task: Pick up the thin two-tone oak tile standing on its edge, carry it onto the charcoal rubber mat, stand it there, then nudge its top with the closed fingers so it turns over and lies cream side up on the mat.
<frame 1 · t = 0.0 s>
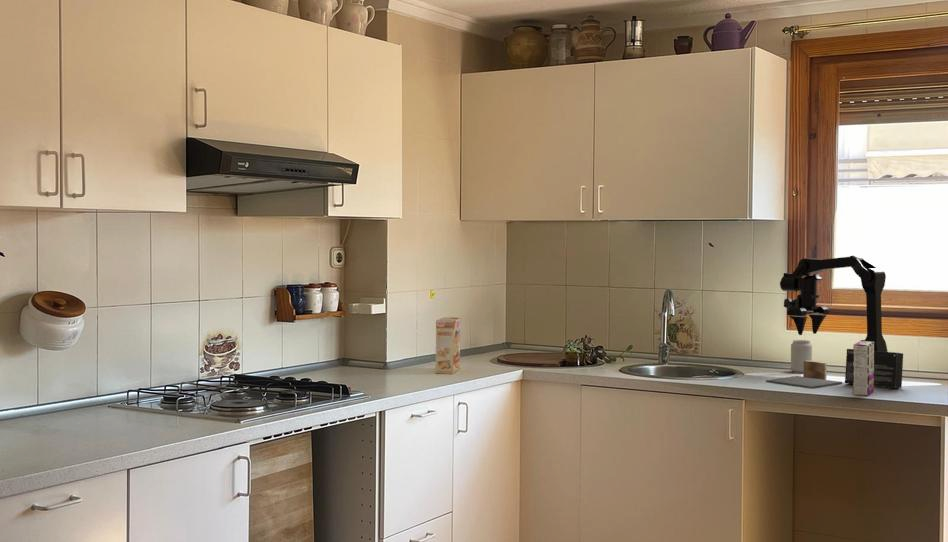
hand: (807, 334, 346), 15 cm above the worktop, fingers open, 9 cm apart
coffeecake box: (448, 371, 347), on the worktop
tile: (814, 378, 335), on the worktop
mat: (804, 382, 324), on the worktop
candy bar box: (863, 393, 303), on the worktop
can: (801, 372, 351), on the worktop
box: (872, 386, 317), on the worktop
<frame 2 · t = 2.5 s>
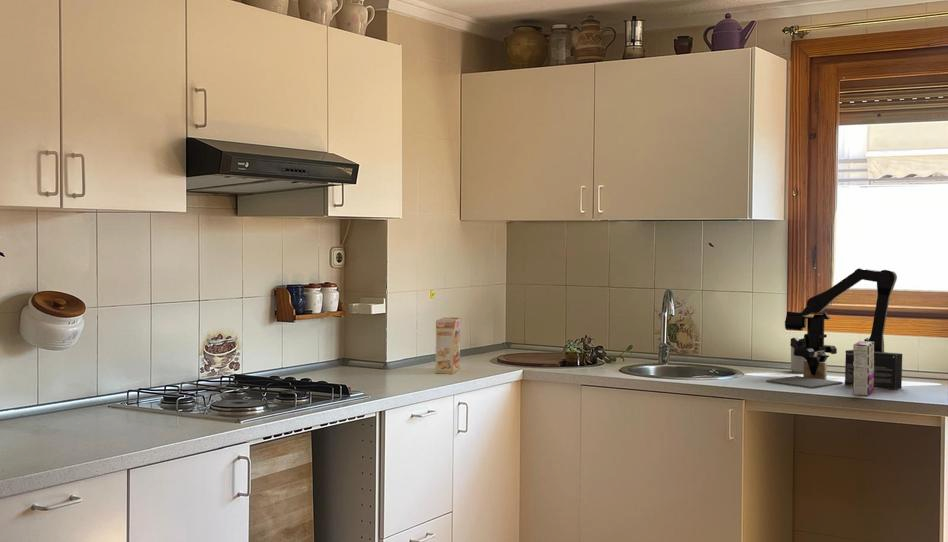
hand: (814, 374, 335), 1 cm above the worktop, fingers closed on tile, 2 cm apart
tile: (814, 378, 335), on the worktop, touching gripper
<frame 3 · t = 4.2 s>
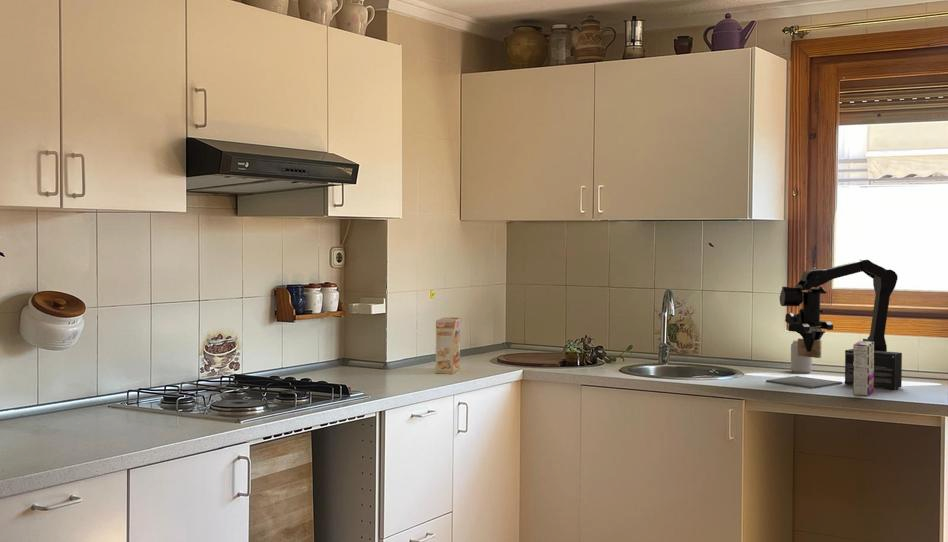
hand: (810, 351, 325), 11 cm above the worktop, fingers closed on tile
tile: (809, 356, 325), point 9 cm above the worktop, touching gripper
box: (872, 386, 318), on the worktop, touching arm
everything else where it was.
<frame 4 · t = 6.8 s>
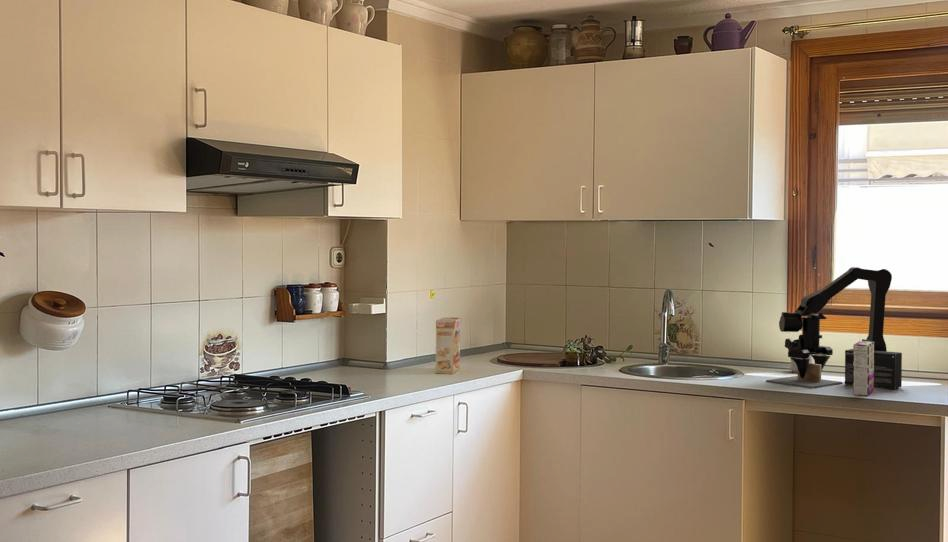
hand: (810, 376, 325), 2 cm above the worktop, fingers open, 9 cm apart
tile: (809, 380, 325), point 1 cm above the worktop, touching mat
everything else where it was.
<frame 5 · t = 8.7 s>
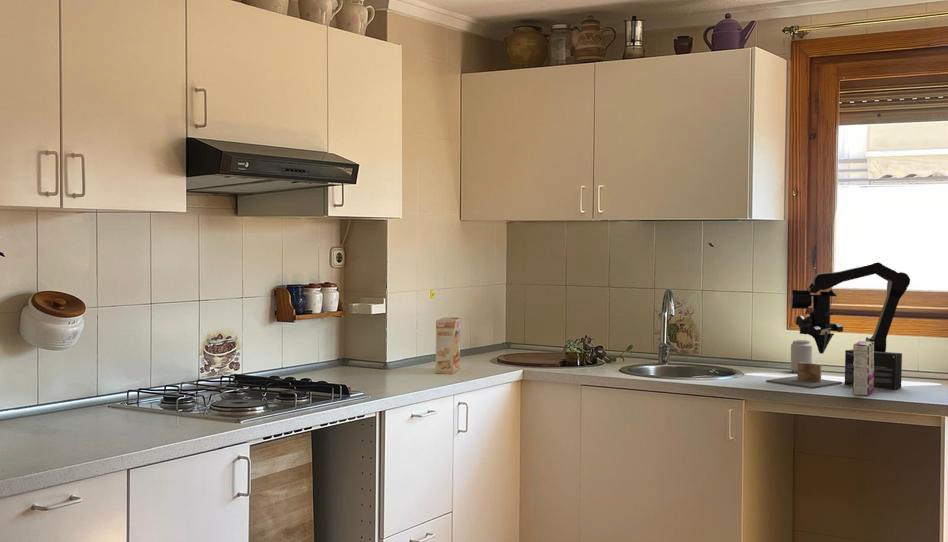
hand: (821, 353, 328), 10 cm above the worktop, fingers closed
box: (872, 386, 318), on the worktop
everything else where it was.
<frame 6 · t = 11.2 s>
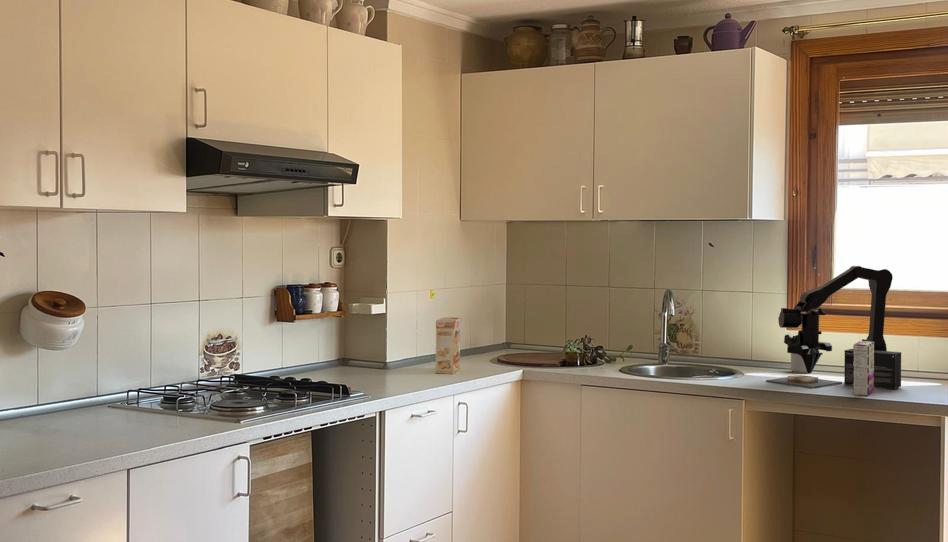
hand: (809, 372, 324), 3 cm above the worktop, fingers closed
tile: (807, 378, 324), point 1 cm above the worktop, tilted 90°, touching mat
box: (872, 386, 318), on the worktop, touching arm
everything else where it was.
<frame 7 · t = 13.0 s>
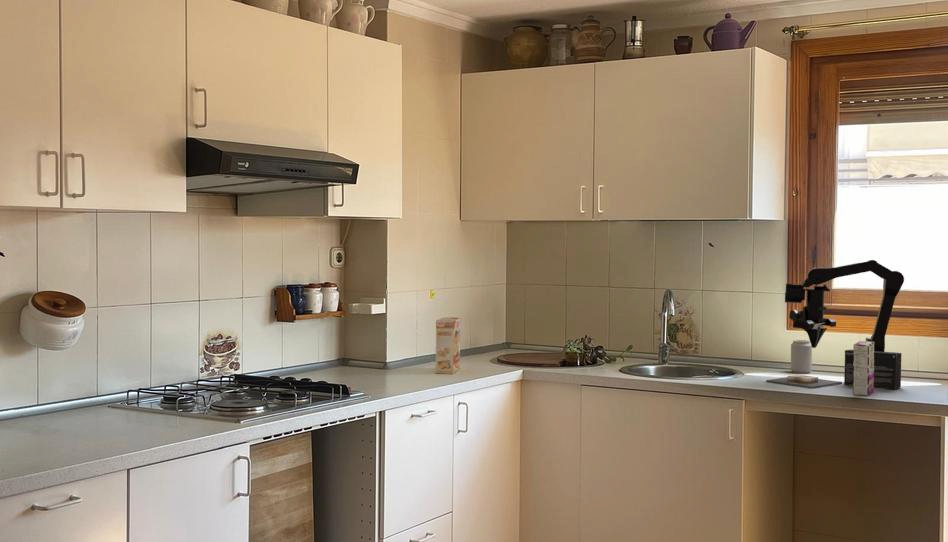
hand: (813, 347, 331), 11 cm above the worktop, fingers closed
nothing on the worktop moved.
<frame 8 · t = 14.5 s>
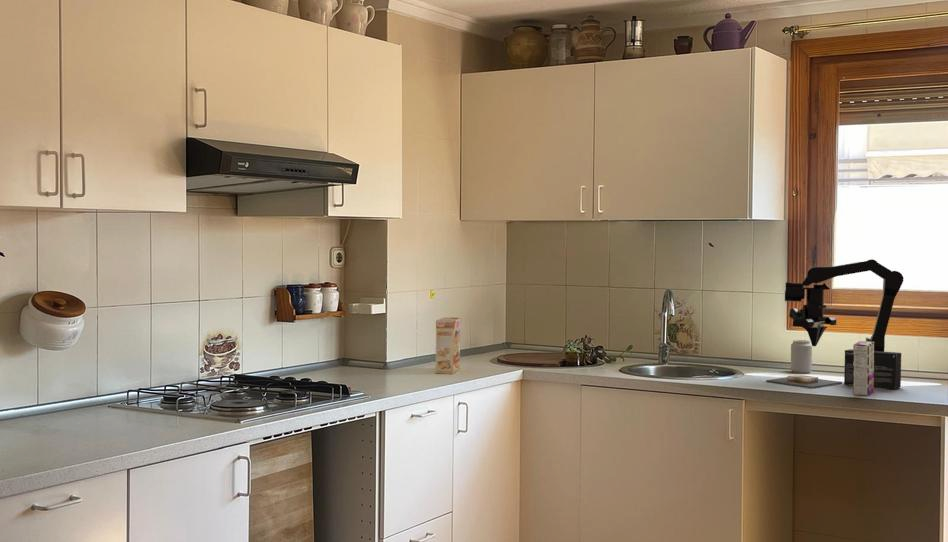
hand: (814, 346, 331), 12 cm above the worktop, fingers closed
nothing on the worktop moved.
at the end: tile tilted 90°; tile inside the target area on the mat (1.3 cm from its centre), point 1.5 cm above the mat's base; the gripper is holding nothing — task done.
